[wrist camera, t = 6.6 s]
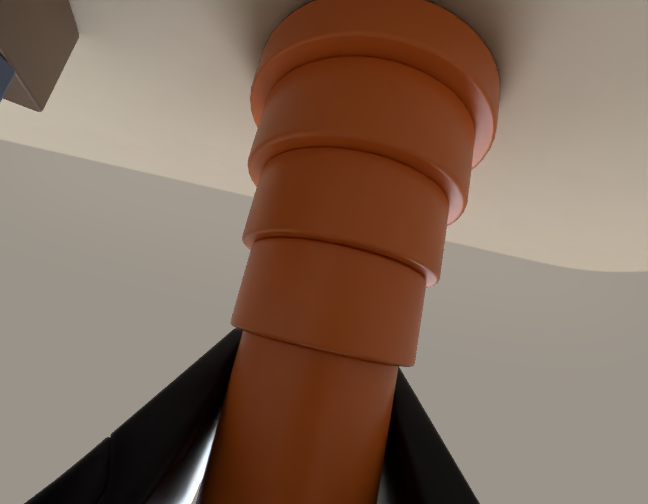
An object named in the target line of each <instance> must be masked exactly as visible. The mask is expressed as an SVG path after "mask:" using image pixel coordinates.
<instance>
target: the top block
mask: <svg viewBox="0 0 648 504" xmlns="http://www.w3.org/2000/svg"><path fill="white" fill-rule="evenodd" d="M14 76H15V70H14V68H13V67H12V66H11V65H10V64H9V63H8V62H7V61H6V60H5V59H4V58H3V57H2V56H1V55H0V102H1V100H2V98H3V96H4V94H5V93H6V91H7V89H8V87H9V85H10V83H11V81H12V79H13V78H14Z"/></svg>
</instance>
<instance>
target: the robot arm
mask: <svg viewBox="0 0 648 504" xmlns="http://www.w3.org/2000/svg"><path fill="white" fill-rule="evenodd" d="M242 333H243V330H242V329H239V328H235V329H234V330H232V331H231V332H230V333H229V334H228V335H226V336H225V337H224V338H223V339H222V340H221V341H219V342H218V343H217V344H216V345H215V346H214V347H212V348H211V349H210V350H209V351H208V352H207V353H205V354H204V355H203V356H202V357H201V358H199V359H198V360H197V361H196V362H195V363H194V364H193V365H191V366H190V367H189V368H188V369H187V370H186V371H184V372H183V373H182V374H181V375H180V376H179V377H177V378H176V379H175V380H174V381H173V382H171V383H170V384H169V385H168V386H167V387H165V389H163V390H162V391H161V392H160V393H158V394H157V395H156V396H155V397H154V398H153V399H151V400H150V401H149V402H148V403H147V404H146V405H145V406H143V407H142V408H141V409H140V410H139V411H137V412H136V413H135V414H134V415H133V416H132V417H130V418H129V419H128V420H127V421H126V422H124V424H122V425H121V426H120V427H119V428H117V429H116V430H115V431H114V432H113V433H112V434H111V437H107V438H105V439H104V440H103V441H102V442H101V443H100V444H98V445H97V446H96V447H95V448H94V449H93V450H91V452H89V453H88V454H87V455H86V456H84V457H83V458H82V459H81V460H79V461H78V462H77V463H76V464H75V465H73V466H72V467H71V468H70V469H68V470H67V471H66V472H65V473H64V474H62V475H61V476H60V477H59V478H57V479H56V480H55V481H54V482H52V483H51V484H49V485H48V486H47V487H46V488H44V489H43V490H42V491H40V492H39V493H38V494H36V495H35V496H34V497H32V498H31V499H30V500H28V501H27V502H26V503H24V504H191V502H192V500H193V497H194V496H195V493H196V491H197V489H198V487H199V484H200V482H201V480H202V478H203V475H204V471H205V468H206V464H207V460H208V457H209V453H210V450H211V446H212V442H213V439H214V435H215V431H216V428H217V424H218V420H219V417H220V413H221V409H222V406H223V402H224V398H225V395H226V391H227V387H228V384H229V380H230V377H231V373H232V369H233V365H234V362H235V358H236V354H237V351H238V347H239V344H240V340H241V336H242ZM377 504H480V503H479V502H478V500H477V498H476V497H475V495H474V493H473V492H472V490H471V488H470V486H469V485H468V483H467V481H466V480H465V478H464V476H463V474H462V473H461V471H460V470H459V468H458V466H457V464H456V463H455V461H454V459H453V458H452V456H451V454H450V452H449V451H448V449H447V448H446V446H445V444H444V442H443V441H442V439H441V437H440V435H439V434H438V432H437V430H436V429H435V427H434V425H433V424H432V422H431V420H430V418H429V417H428V415H427V413H426V412H425V410H424V408H423V407H422V405H421V403H420V402H419V400H418V398H417V396H416V395H415V393H414V391H413V390H412V388H411V386H410V385H409V383H408V382H407V379H406V378H405V377H404V374H403V373H402V371H401V370H400V368H399V366H398V372H397V379H396V385H395V392H394V398H393V404H392V411H391V417H390V423H389V430H388V436H387V443H386V449H385V455H384V462H383V468H382V475H381V481H380V487H379V494H378V500H377Z"/></svg>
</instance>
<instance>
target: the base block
mask: <svg viewBox="0 0 648 504" xmlns="http://www.w3.org/2000/svg"><path fill="white" fill-rule="evenodd" d="M78 38H79V33H78V30H77V27H76V24H75V21H74V17H73V14H72V11H71V8H70V5H69V1H68V0H0V55H1V56H2V57H3V58H4V59H5V60H6V61H7V62H8V63H9V64H10V65H11V66H12V67H13V68H14V70H15V76H14V78H13V79H12V81H11V83H10V85H9V87H8V89H7V91H6V93H5V94H4V96H3V99H6V100H9V101H11V102H14V103H16V104H19V105H22V106H24V107H27V108H29V109H32V110H35V111H37V112H41V111H43V109H44V107H45V105H46V103H47V101H48V99H49V97H50V95H51V93H52V91H53V89H54V87H55V85H56V83H57V81H58V79H59V76H60V74H61V72H62V70H63V68H64V66H65V64H66V62H67V60H68V58H69V56H70V54H71V52H72V50H73V48H74V46H75V44H76V42H77V40H78Z"/></svg>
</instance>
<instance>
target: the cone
mask: <svg viewBox="0 0 648 504" xmlns="http://www.w3.org/2000/svg"><path fill="white" fill-rule="evenodd" d="M499 100H500V79H499V75H498V70H497V66H496V64H495V62H494V59H493V57H492V55H491V53H490V51H489V49H488V48H487V47H486V45H485V44H484V42H483V41H482V39H481V38H480V37H479V36H478V35H477V34H476V33H475V32H474V31H473V30H472V29H471V28H470V27H469V26H468V25H467V24H466V23H465V22H463V21H462V20H461V19H459V18H458V17H457V16H455V15H454V14H452V13H451V12H449V11H447V10H445V9H443V8H441V7H439V6H438V5H436V4H434V3H432V2H429V1H426V0H315V1H313V2H310V3H308V4H306V5H304V6H303V7H301V8H299V9H298V10H296V11H294V12H293V13H292V14H290V15H289V16H288V17H287V18H286V19H285V20H283V21H282V22H281V23H280V24H279V25H278V26H277V28H276V29H275V30H274V31H273V33H272V34H271V35H270V37H269V39H268V41H267V43H266V45H265V47H264V50H263V53H262V56H261V59H260V62H259V65H258V68H257V71H256V74H255V77H254V81H253V84H252V87H251V95H250V102H251V110H252V114H253V117H254V121H255V123H256V125H257V127H258V129H257V132H256V135H255V139H254V142H253V145H252V148H251V152H250V155H249V159H248V169H249V174H250V176H251V179H252V181H253V182H254V184H255V185H256V187H257V188H256V192H255V195H254V199H253V202H252V206H251V209H250V212H249V216H248V219H247V222H246V226H245V229H244V233H243V237H242V240H243V243H244V244H245V245H246V246H247V247H248V248H249V249H250V250H251V251H250V255H249V259H248V262H247V265H246V269H245V272H244V276H243V279H242V283H241V287H240V290H239V293H238V297H237V301H236V304H235V308H234V311H233V314H232V318H231V325H232V326H234V327H236V328H239V329H242V330H243V333H242V336H241V340H240V344H239V347H238V351H237V354H236V358H235V362H234V365H233V369H232V373H231V377H230V380H229V384H228V387H227V391H226V395H225V398H224V402H223V406H222V409H221V413H220V417H219V420H218V424H217V428H216V431H215V435H214V439H213V442H212V446H211V450H210V453H209V457H208V460H207V464H206V468H205V471H204V475H203V479H202V482H201V486H200V490H199V494H198V497H197V501H196V504H377V500H378V494H379V487H380V481H381V475H382V468H383V462H384V455H385V449H386V443H387V436H388V430H389V423H390V417H391V411H392V404H393V398H394V392H395V385H396V379H397V372H398V366H403V367H411V366H413V365H414V364H415V358H416V351H417V344H418V336H419V330H420V323H421V317H422V310H423V303H424V295H425V289H426V288H428V287H431V286H434V285H435V284H437V283H438V281H439V279H440V273H441V265H442V258H443V251H444V243H445V236H446V229H447V226H448V225H450V224H452V223H453V222H455V221H456V220H457V219H458V218H459V217H460V216H461V215H462V213H463V212H464V210H465V208H466V206H467V201H468V192H469V184H470V176H471V170H472V169H473V168H474V167H476V166H477V165H478V164H479V162H480V161H481V160H482V159H483V158H484V157H485V155H486V154H487V152H488V151H489V149H490V147H491V145H492V143H493V141H494V138H495V133H496V128H497V119H498V109H499Z"/></svg>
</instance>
